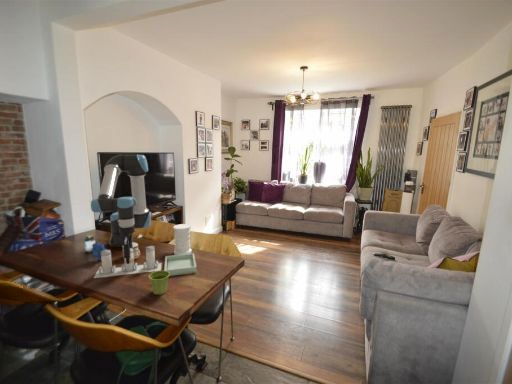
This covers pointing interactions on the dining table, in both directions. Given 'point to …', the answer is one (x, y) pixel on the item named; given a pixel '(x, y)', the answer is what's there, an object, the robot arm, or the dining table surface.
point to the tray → (180, 264)
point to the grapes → (97, 250)
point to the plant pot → (159, 281)
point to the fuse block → (109, 271)
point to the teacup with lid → (135, 248)
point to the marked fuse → (131, 261)
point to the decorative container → (182, 239)
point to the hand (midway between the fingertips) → (129, 266)
